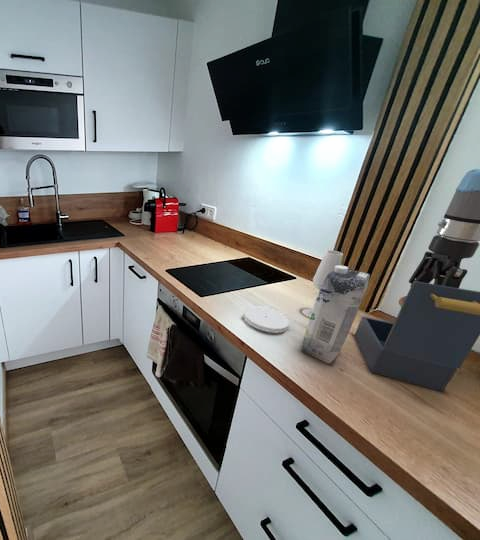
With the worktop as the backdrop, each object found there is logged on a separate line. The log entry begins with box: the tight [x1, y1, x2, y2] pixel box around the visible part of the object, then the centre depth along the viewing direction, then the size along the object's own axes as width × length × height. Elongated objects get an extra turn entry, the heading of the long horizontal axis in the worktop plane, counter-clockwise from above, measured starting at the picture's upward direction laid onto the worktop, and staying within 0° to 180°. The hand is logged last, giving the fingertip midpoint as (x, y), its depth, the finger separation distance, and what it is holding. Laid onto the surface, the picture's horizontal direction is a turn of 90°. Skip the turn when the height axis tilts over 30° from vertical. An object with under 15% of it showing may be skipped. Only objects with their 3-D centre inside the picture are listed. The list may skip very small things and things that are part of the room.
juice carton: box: [301, 264, 371, 364], centre depth 79 cm, size 9×10×27 cm
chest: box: [354, 316, 458, 392], centre depth 81 cm, size 19×15×7 cm
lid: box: [382, 281, 480, 370], centre depth 66 cm, size 20×15×6 cm
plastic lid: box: [243, 305, 290, 334], centre depth 97 cm, size 14×14×2 cm
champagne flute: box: [301, 249, 344, 319], centre depth 99 cm, size 7×7×24 cm
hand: (414, 318), depth 77 cm, fingers closed on cupcake, 9 cm apart
